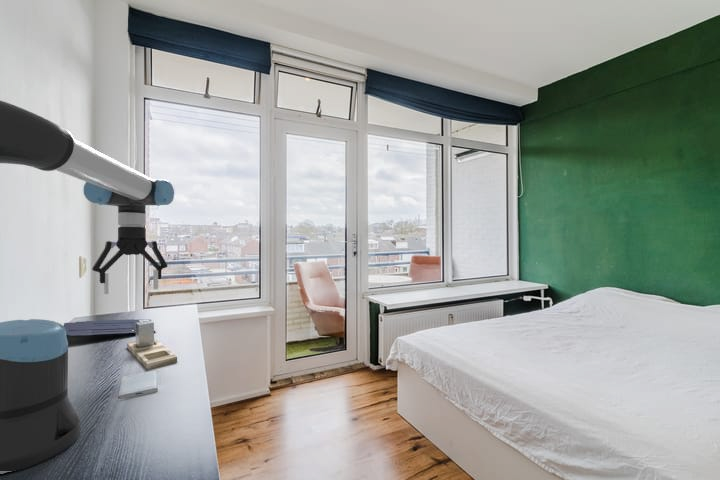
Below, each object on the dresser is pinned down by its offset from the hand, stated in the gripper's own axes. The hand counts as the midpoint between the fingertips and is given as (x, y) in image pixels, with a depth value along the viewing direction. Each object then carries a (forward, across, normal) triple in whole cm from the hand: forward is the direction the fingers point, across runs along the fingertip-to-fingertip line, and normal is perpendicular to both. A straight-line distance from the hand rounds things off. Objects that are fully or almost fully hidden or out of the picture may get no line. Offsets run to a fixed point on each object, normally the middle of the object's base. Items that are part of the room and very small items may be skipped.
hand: (131, 291), depth 109 cm
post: (+20, -4, -3) cm, 21 cm away
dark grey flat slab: (+21, 0, -37) cm, 43 cm away
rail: (+21, -4, +4) cm, 22 cm away
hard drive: (+22, +3, +26) cm, 35 cm away
